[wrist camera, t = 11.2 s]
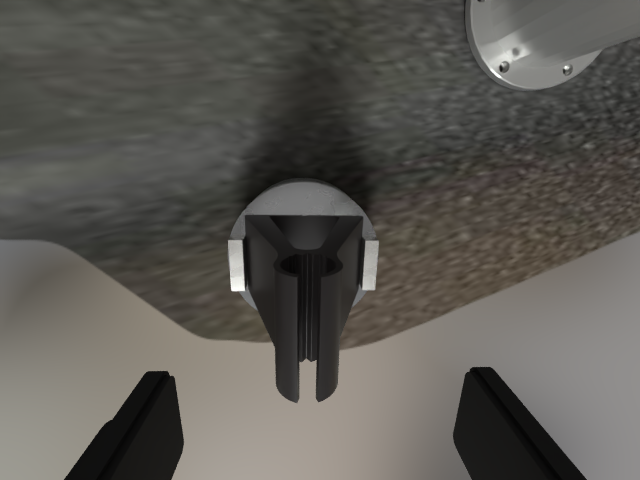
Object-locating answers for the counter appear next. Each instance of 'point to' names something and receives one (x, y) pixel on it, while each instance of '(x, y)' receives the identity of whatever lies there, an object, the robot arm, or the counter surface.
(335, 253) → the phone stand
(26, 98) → the counter surface
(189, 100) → the counter surface
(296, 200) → the grey short round piece
